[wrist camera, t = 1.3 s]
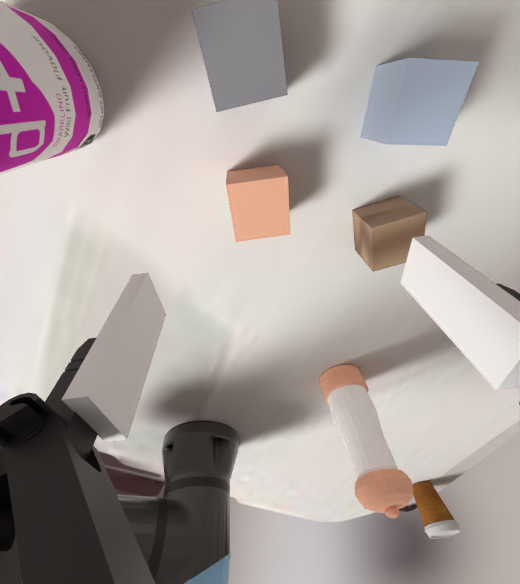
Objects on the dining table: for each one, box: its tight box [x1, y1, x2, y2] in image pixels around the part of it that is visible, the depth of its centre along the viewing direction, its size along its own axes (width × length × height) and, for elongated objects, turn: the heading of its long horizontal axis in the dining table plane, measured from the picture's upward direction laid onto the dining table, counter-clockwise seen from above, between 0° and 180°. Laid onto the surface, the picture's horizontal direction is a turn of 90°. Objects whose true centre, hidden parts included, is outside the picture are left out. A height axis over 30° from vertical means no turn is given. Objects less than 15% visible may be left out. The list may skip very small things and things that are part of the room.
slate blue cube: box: [361, 58, 479, 146], centre depth 21 cm, size 5×5×5 cm
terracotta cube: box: [226, 164, 290, 242], centre depth 24 cm, size 5×5×5 cm
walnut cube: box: [352, 196, 427, 272], centre depth 27 cm, size 5×5×5 cm
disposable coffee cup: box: [412, 481, 460, 539], centre depth 79 cm, size 10×10×12 cm
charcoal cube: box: [192, 0, 288, 112], centre depth 19 cm, size 5×5×5 cm
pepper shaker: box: [320, 364, 413, 518], centre depth 38 cm, size 7×7×19 cm
